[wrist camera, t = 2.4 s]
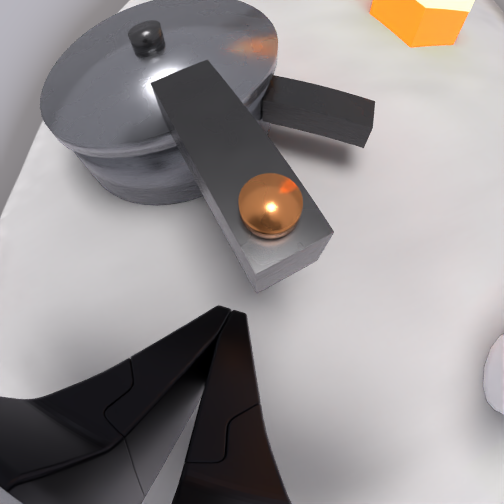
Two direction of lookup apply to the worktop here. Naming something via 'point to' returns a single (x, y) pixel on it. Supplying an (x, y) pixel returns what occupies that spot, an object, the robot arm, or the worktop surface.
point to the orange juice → (423, 19)
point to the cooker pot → (265, 112)
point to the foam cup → (495, 376)
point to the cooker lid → (192, 119)
